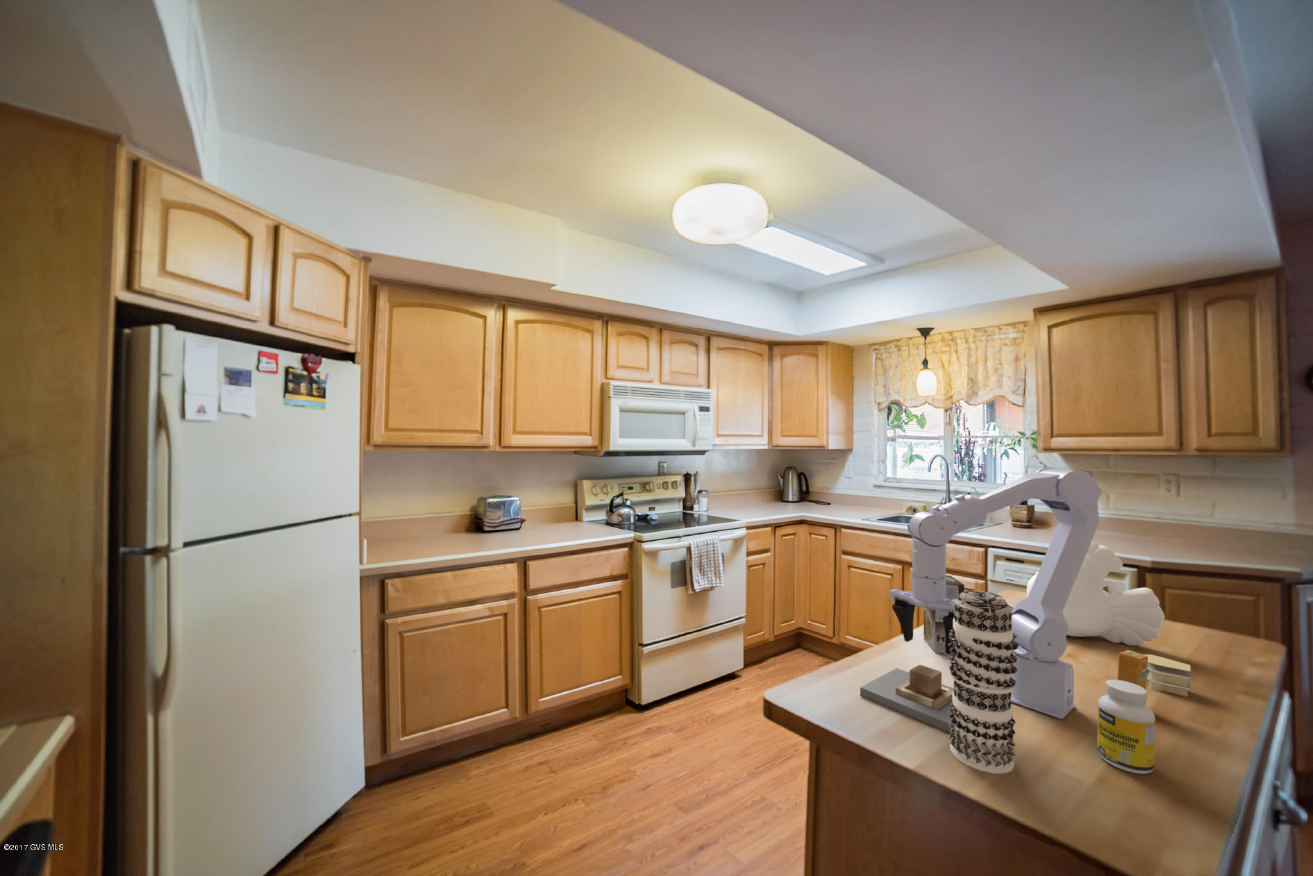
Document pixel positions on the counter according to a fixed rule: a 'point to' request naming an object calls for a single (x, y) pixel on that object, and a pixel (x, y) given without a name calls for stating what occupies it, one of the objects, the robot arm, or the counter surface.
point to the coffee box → (940, 617)
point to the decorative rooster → (1109, 603)
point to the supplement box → (1133, 668)
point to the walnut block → (926, 681)
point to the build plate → (910, 699)
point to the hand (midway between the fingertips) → (928, 646)
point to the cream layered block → (1168, 675)
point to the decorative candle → (982, 682)
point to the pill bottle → (1126, 728)
